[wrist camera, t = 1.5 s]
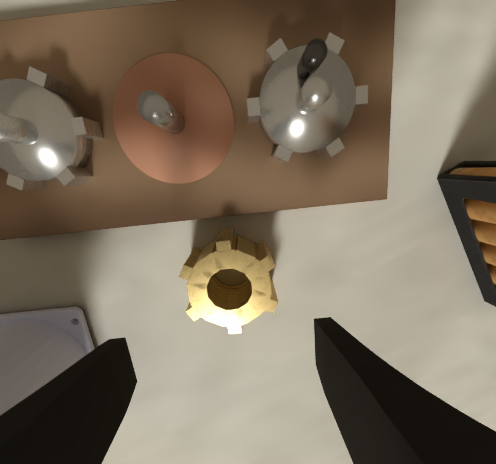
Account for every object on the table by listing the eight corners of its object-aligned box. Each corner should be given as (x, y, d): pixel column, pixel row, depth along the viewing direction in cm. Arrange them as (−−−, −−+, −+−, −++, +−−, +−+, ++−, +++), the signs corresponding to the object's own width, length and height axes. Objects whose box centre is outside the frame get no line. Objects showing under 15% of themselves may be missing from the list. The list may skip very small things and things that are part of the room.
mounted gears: (353, 155, 14) (387, 150, 10) (14, 191, 14) (-55, 197, 11) (354, 44, 12) (393, -1, 9) (-22, 87, 12) (-115, 57, 9)
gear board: (376, 197, 15) (387, 199, 14) (16, 235, 16) (-4, 240, 14) (382, -7, 13) (397, -27, 11) (-54, 43, 13) (-86, 29, 12)
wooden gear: (274, 302, 17) (280, 328, 14) (199, 310, 17) (190, 337, 14) (267, 224, 16) (272, 235, 13) (186, 232, 16) (172, 246, 13)
